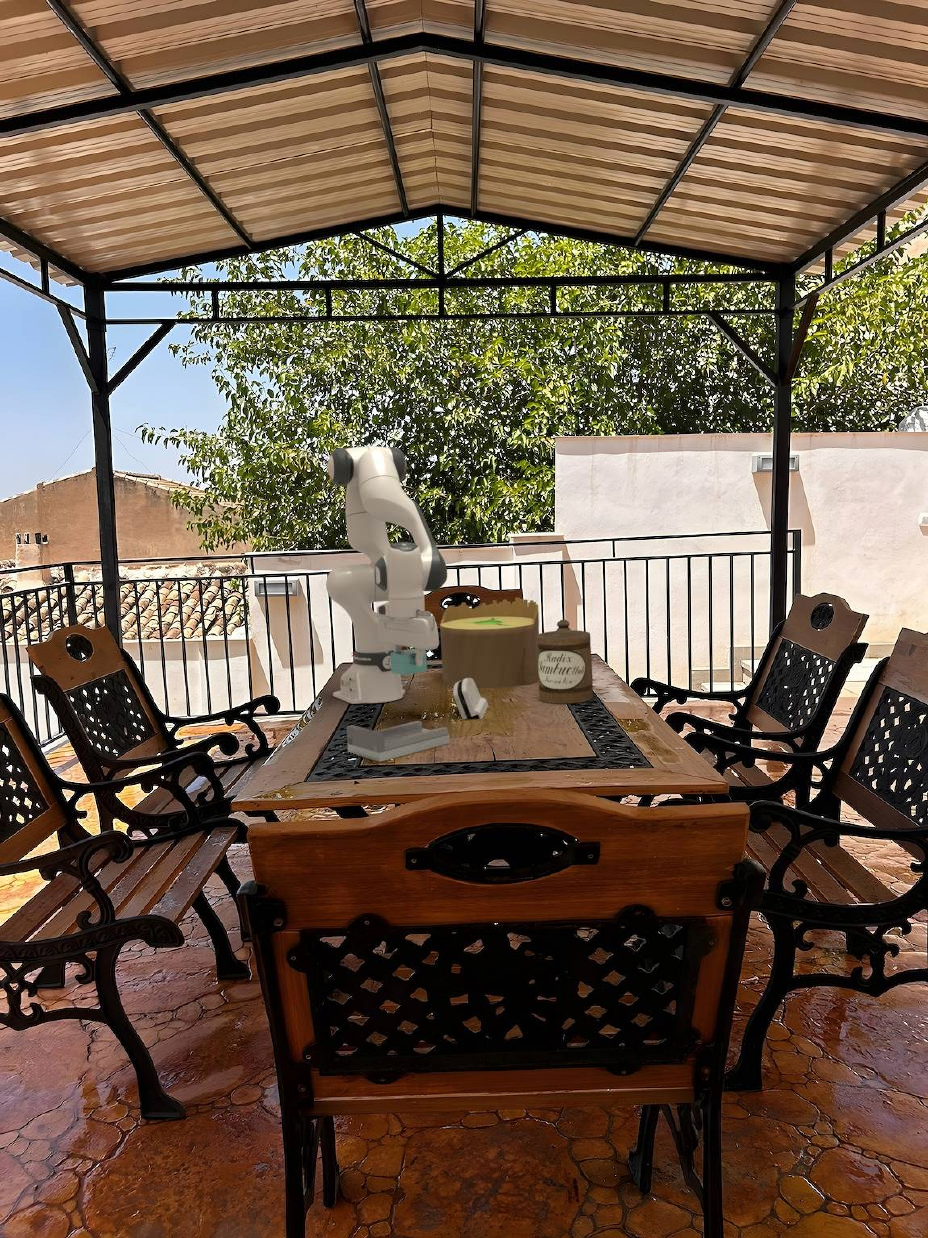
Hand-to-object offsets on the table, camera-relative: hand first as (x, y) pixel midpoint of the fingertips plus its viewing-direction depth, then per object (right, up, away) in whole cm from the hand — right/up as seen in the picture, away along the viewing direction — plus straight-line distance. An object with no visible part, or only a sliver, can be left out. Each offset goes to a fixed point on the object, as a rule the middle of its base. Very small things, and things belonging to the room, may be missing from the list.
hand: (409, 663), depth 223 cm
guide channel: (-1, -18, -19) cm, 26 cm away
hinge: (+15, -14, +14) cm, 25 cm away
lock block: (0, -2, 0) cm, 2 cm away
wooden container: (+42, -11, +26) cm, 50 cm away
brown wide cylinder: (+22, -8, +60) cm, 65 cm away
